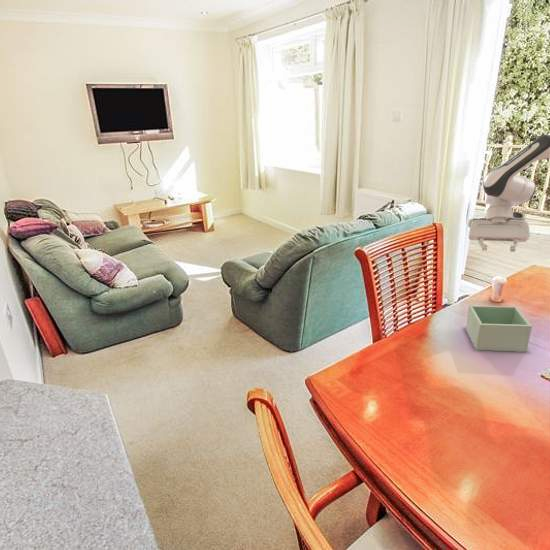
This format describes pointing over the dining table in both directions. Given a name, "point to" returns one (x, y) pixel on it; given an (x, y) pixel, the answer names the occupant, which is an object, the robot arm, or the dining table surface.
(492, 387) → the dining table surface
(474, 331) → the sage green open box
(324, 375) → the dining table surface
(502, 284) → the milkshake
